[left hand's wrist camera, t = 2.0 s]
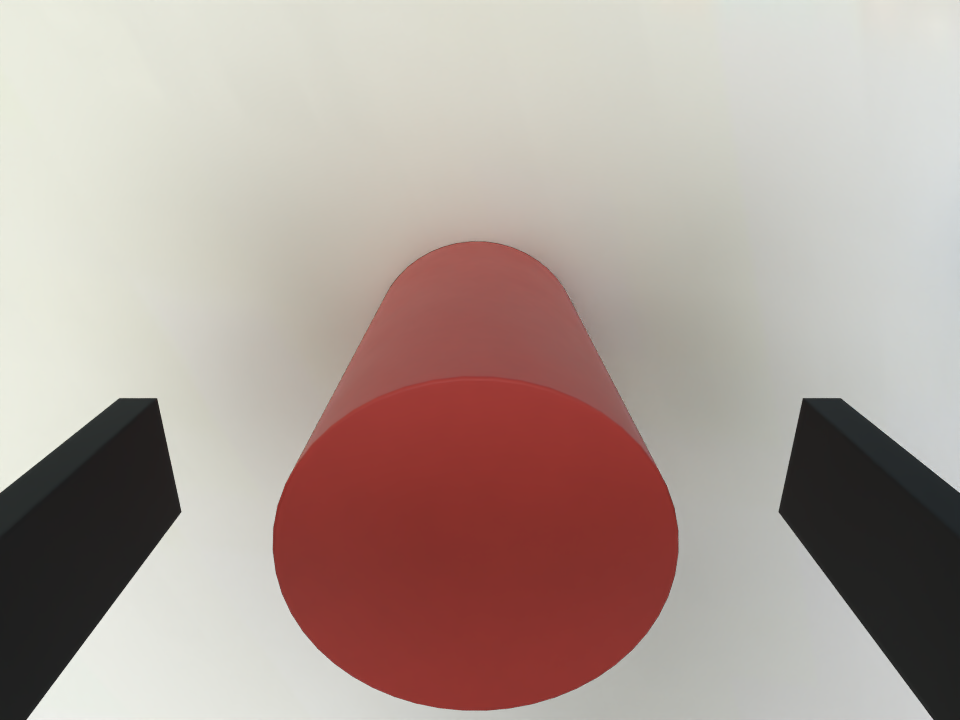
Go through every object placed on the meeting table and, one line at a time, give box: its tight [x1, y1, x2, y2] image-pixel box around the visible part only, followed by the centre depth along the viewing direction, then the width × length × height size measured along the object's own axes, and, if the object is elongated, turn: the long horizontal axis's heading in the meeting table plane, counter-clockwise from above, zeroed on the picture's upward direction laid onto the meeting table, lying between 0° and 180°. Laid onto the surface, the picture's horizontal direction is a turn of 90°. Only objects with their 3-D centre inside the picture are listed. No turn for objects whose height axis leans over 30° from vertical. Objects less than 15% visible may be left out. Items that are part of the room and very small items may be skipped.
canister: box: [273, 242, 678, 711], centre depth 15 cm, size 7×7×11 cm
